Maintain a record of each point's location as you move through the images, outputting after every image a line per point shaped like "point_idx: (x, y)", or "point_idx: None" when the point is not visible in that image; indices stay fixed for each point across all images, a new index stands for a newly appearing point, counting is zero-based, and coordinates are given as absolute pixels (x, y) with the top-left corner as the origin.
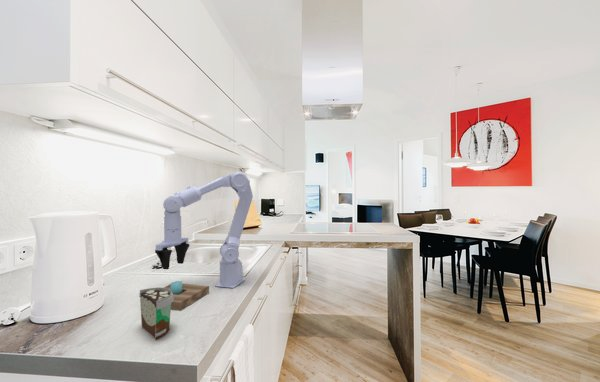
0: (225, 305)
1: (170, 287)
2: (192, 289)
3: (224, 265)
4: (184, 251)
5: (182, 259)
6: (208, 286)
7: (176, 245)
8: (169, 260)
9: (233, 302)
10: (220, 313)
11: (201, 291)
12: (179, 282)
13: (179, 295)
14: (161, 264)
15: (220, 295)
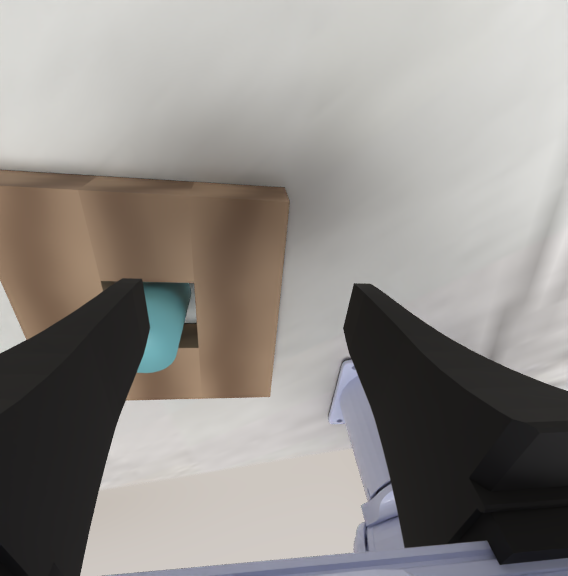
0: (176, 455)
1: (198, 241)
2: (208, 362)
3: (369, 489)
4: (387, 460)
5: (354, 361)
6: (265, 396)
7: (492, 465)
8: (118, 412)
9: (205, 461)
10: (119, 466)
11: (209, 394)
12: (154, 359)
13: None
14: (89, 302)
15: (252, 412)
